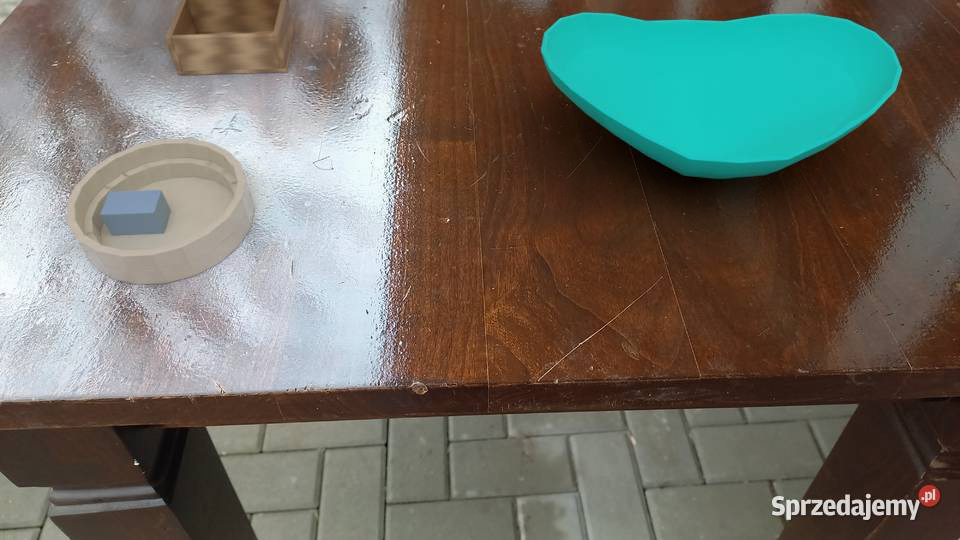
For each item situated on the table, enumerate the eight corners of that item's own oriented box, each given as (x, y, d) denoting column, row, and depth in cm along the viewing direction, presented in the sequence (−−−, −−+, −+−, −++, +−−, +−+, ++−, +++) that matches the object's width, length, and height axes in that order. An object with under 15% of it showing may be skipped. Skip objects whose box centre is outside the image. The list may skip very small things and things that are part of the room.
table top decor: (540, 223, 77) (552, 127, 67) (524, 78, 95) (532, -15, 85) (890, 221, 78) (953, 127, 68) (809, 79, 96) (850, -13, 86)
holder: (178, 75, 94) (164, 38, 90) (193, 33, 101) (181, -4, 97) (286, 72, 95) (278, 35, 91) (294, 30, 102) (287, -6, 97)
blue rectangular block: (111, 235, 74) (99, 214, 72) (120, 212, 76) (108, 191, 74) (164, 233, 74) (154, 212, 72) (171, 210, 77) (161, 189, 74)
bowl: (64, 292, 70) (41, 259, 66) (112, 174, 81) (94, 141, 77) (242, 284, 71) (229, 251, 67) (264, 169, 82) (254, 135, 78)
